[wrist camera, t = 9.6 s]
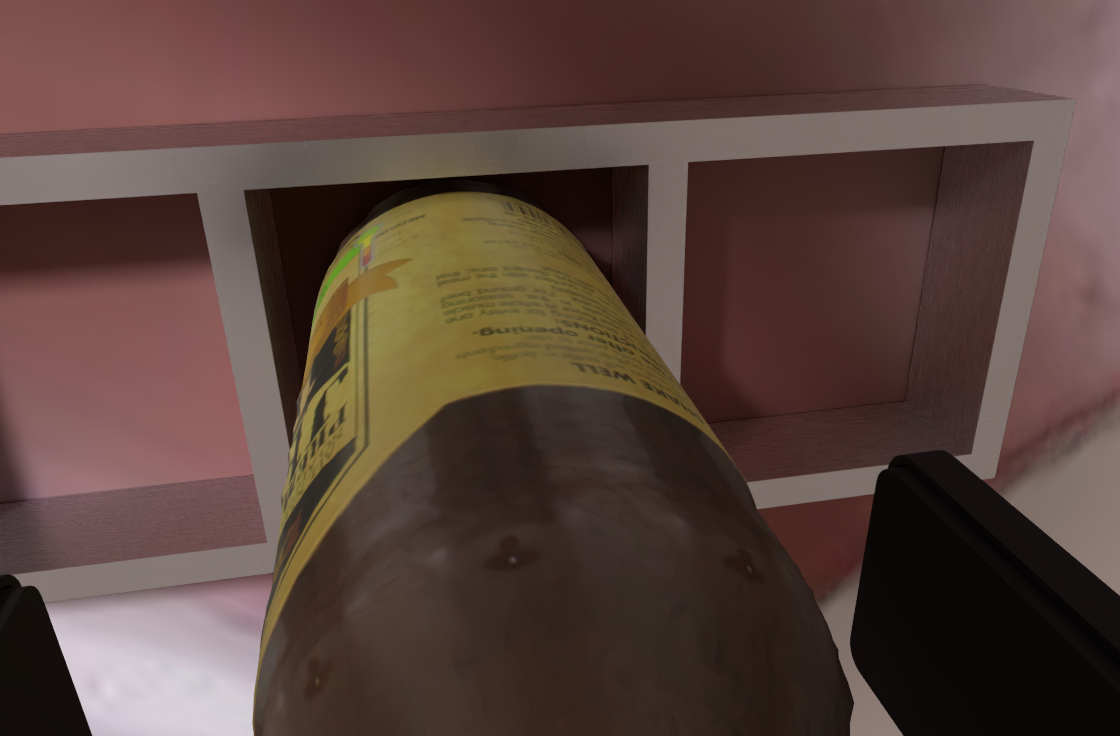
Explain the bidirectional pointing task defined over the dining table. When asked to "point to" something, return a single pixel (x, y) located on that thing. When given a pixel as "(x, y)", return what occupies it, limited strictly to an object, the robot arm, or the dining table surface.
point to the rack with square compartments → (637, 278)
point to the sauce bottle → (518, 509)
